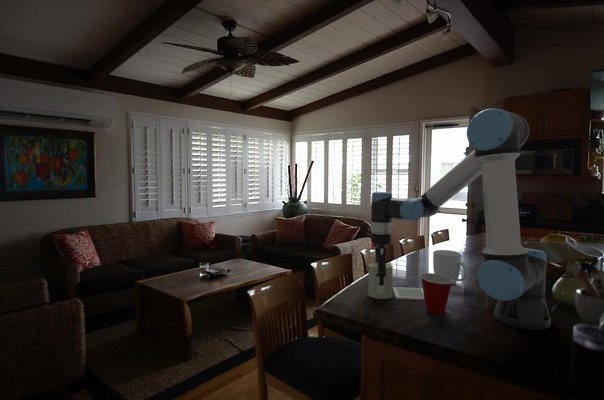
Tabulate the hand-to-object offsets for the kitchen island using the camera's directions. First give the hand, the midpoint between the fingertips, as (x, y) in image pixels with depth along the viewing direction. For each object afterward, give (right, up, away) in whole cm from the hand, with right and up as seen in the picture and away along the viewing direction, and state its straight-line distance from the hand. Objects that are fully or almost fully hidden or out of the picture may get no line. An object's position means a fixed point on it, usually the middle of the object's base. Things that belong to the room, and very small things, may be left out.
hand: (379, 287), depth 141 cm
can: (0, -3, 0) cm, 3 cm away
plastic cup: (+15, -4, -17) cm, 23 cm away
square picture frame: (+12, -3, 0) cm, 12 cm away
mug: (+32, -2, +15) cm, 35 cm away
